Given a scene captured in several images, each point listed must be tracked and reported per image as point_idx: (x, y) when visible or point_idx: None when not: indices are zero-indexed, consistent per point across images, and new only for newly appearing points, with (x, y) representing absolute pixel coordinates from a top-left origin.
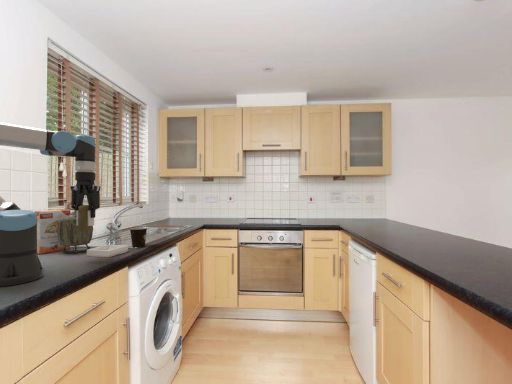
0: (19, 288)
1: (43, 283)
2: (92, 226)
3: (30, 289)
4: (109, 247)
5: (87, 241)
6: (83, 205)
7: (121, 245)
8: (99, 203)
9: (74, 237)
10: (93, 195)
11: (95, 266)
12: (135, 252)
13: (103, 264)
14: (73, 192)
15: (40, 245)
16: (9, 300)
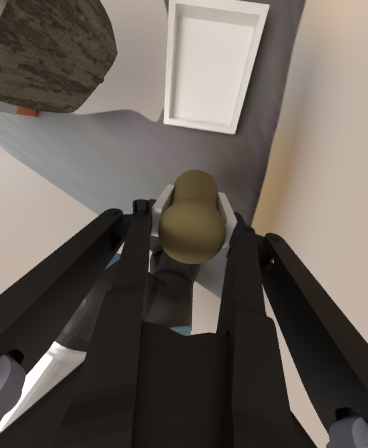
0: (204, 278)
1: (216, 268)
2: (216, 191)
3: (217, 280)
4: (184, 11)
5: (115, 52)
6: (188, 257)
7: (239, 8)
8: (296, 257)
9: (78, 79)
10: (293, 344)
11: (239, 208)
12: (293, 39)
13: (247, 196)
14: (50, 340)
15: (13, 111)
16: (220, 295)
